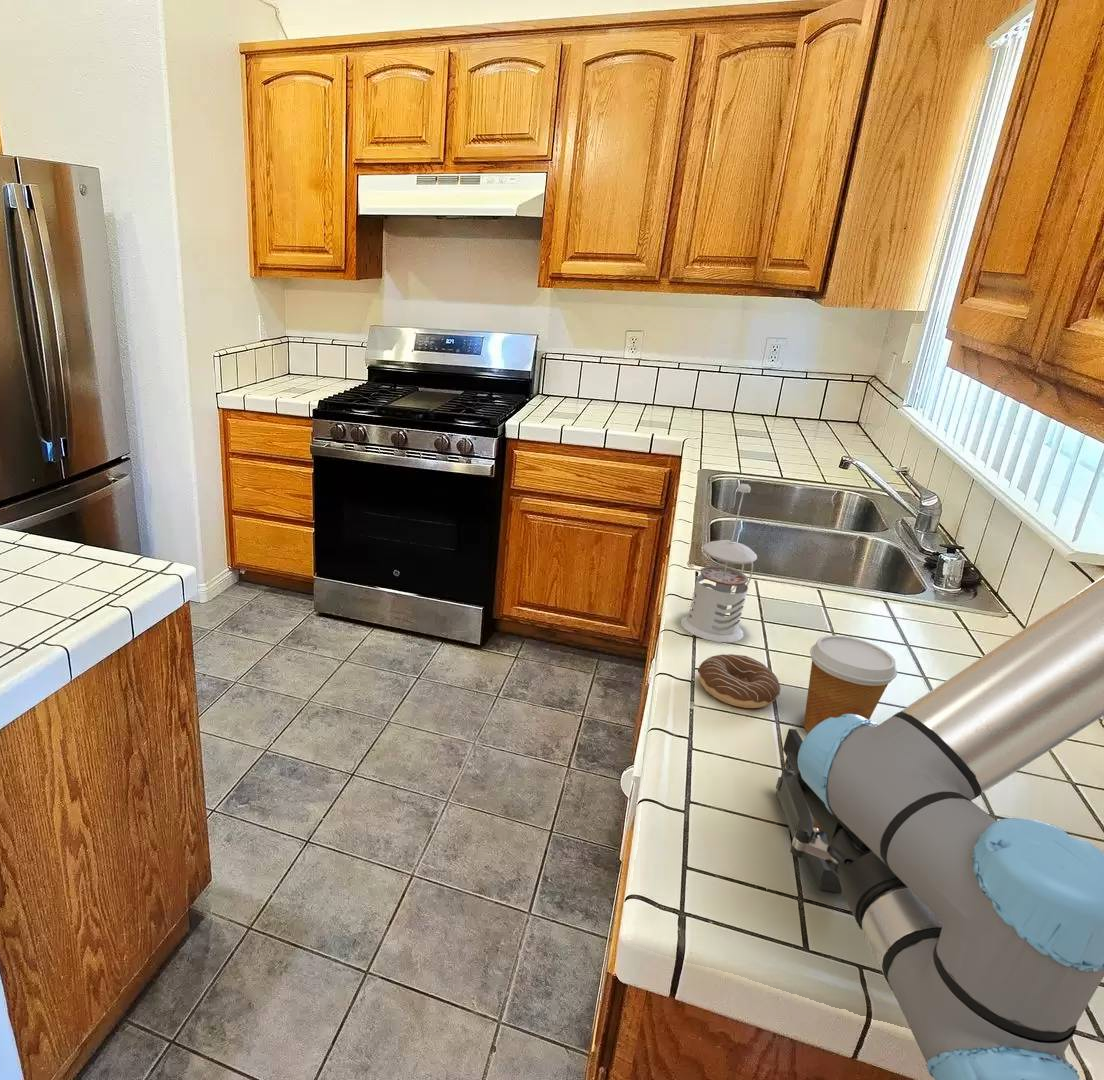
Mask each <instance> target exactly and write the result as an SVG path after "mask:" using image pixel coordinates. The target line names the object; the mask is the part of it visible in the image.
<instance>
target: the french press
mask: <svg viewBox="0 0 1104 1080" xmlns="http://www.w3.org/2000/svg"><path fill="white" fill-rule="evenodd" d="M751 489H752V488H751V486H750V485H749V484H748V483H740V484H739V485H738V486H737V489H736V491H737V492H740V493H741V496H740V500H739V504H738V509H737V513H736V517H735V522H734V527H733V531H732V536H731V539H730V540H729V539H720V540H712V541H709V542H705V544H703V545H702V551H703V552H704V553H705V554H706V555H707V556H708V557H710V558H712V559H715V560H717V561H721V562H723V563H724V562H725V566H720V565H707V566H703V567H702V568H700V574H699V575H698V576H697V577H696V579H695V585H694V589H693V593H692V599H691V603H690V607H689V612H688V615H685V616H684V617H682V618H681V620H680V625H681V626H682V628H683V629H684V630H685V631H687V632H688V633H689V634H691V635H693V636H696V637H698V638H701V639H703V640H706V641H707V640H708V641H711V642H717V643H735V642H739V641H741V640H742V639H743V638H744V631H743V630H742V629H741V627H740V623H741V618H742V615H743V613H742V612H743V611H744V604H745V602H746V597H747V594H748V590H749V584H750V583H751V580H752V576H753V572H754V562H755V561H756V560H758V554H756V553H755V552H754V551H753V549H751V547H749V546H747V545H745V544H743V543H742V542H741V543H740V542H737V541H734V538H735V532H736V529H737V523H738V520H739V515H740V511H741V506H742V502H743V498H744V494H749V493H751ZM728 564H736V565H737V564H738V565H741V570H740V571H739V570H737V569H733V568H729V567H728ZM748 564H751V565H750V566H751V571H750V574H749V578H748V576H747V575H745V574H744V573H743V572H744V569H745V565H748ZM704 580H707V581H709V582H713V583H715V585H714V584H712V583H707V582H702V581H704ZM701 582H702V583H701ZM732 587H733V588H732ZM734 590H735V591H734ZM733 591H734V593H732V592H733ZM729 606H731V608H728V607H729ZM726 614H729V615H727V616H726Z"/></svg>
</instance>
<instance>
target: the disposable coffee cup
mask: <svg viewBox="0 0 1104 1080" xmlns="http://www.w3.org/2000/svg"><path fill="white" fill-rule="evenodd" d="M809 654H810V658H811V666H810V674H809V683H808V689H807V697H806V703H805V704H806V705H805V712H804V720H803V727H804V729H805V730H806V732H807V733H809V732H810V731H811V730H812V729H813V728H814V727H815V726H816V725H818V724H819V723H821V722H822V721H824V720H826V719H828V718H830V717H833V718H837V717H840V716H842V715H843V714H855V715H859V716H862V717H864V718H866V719H868V720H869V721H870V719H871V717H872V715H873V713H874V711H875V710H876V708H877V706H878V704H879V702H880V700H881V698H882V696H883V694H884V692H885V690H886V689H887V687H888V686H889V684H890V683H892V681H893V680H894V679H896V677H897V676H898V669H896V660H895V658H894V657H893V655H892V654H891V653H889V652H888V651H886V650H885V649H884V648H882V647H880V646H878V645H877V644H873V643H871V642H869V641H866V640H864V639H859V638H855V637H852V636H846V635H834V634H833V635H824V636H822V637H820V638H819V639H818V640H817V641H816V642H815V643H814V644H813V645H812V646H811V647H810V649H809Z"/></svg>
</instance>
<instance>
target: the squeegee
mask: <svg viewBox="0 0 1104 1080" xmlns="http://www.w3.org/2000/svg"><path fill="white" fill-rule="evenodd" d="M780 777H781V776H778V778H777V782H776V785H775V789H776V790H775V797H776V799H777V802H778V804H779V805H780V808H781V810H782V812H783V813H784V811H783V808H782V805H781V802H780V799H779V796H778V793H777V788H778V784H779V781H780ZM811 815H812V814H811ZM812 818H813V822H814V827H815V828H817V829H819V834H818V835H820V837H821V840H822V841H823V842H824V843H825V844H827V845H829V844H828V842H827V836H826V834H825V832H824V831H823V829H822V828H821V827H820V825H819V824H818V823H817V821H816V820H815V818H814V817H813V816H812ZM804 859H805V861H806V864H807V866H808V868H809V870H810V873H811V874H812V876H813V878H814V881H815V883H816V885H817V887H818V890H820V891H824V892H825V891H826V892H831V893H839V894H843V892H842V889H841V885H840V881H839V878H838V877H837V875H836V874H835V873H834V872H833V871H832V870H830V869H829V868H828V867H827V865H826V864H825V861H824V859H821V858H819V857H816V856H814V855H812V854H809V853H807V852H806V854H805V857H804Z"/></svg>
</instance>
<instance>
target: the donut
mask: <svg viewBox="0 0 1104 1080" xmlns="http://www.w3.org/2000/svg"><path fill="white" fill-rule="evenodd" d="M697 673H698V679H699V682H700V684H701V686H702V687H703V689H704V690H705V691H706V692H707V693H708V694H709V695H710V696H711V697H714V698H715V699H717V700H719V701H721V702H723V703H725V704H728V705H731V706H734V707H739V708H745V709H759V708H764V707H766V706H769V705H770V704H772V703H774V702H775V701H776V699H778V696H780V693H781V685H780V682H779V679H778V677H777V675H776V674H775V673H774V672H773V671H772V670H771V669H770V668H769V667H767V665H765V664H764V663H763V662H762V661H759V660H757V659H755V658H752V657H750V656H747V655H742V654H734V653H733V654H732V653H729V654H725V653H724V654H716V655H713V656H709V657H707V658H706V659H705V660H704V661H702V662H701V664H700V665H699V666H698V669H697Z"/></svg>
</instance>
